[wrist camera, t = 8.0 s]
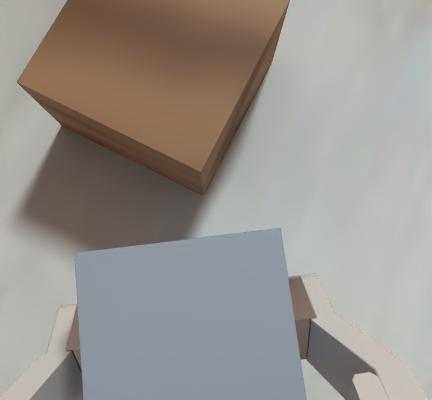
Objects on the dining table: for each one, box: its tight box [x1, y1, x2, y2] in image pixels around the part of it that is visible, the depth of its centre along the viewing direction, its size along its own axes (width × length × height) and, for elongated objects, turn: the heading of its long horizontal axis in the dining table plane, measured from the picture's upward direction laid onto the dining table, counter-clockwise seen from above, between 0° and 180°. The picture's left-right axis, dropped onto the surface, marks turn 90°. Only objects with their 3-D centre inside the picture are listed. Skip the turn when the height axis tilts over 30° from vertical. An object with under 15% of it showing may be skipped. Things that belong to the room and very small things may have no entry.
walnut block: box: [17, 0, 290, 195], centre depth 19 cm, size 8×8×5 cm
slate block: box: [74, 228, 307, 400], centre depth 13 cm, size 4×4×9 cm
